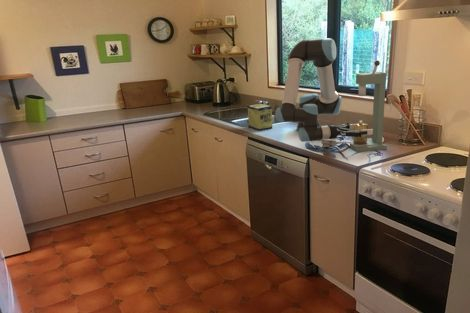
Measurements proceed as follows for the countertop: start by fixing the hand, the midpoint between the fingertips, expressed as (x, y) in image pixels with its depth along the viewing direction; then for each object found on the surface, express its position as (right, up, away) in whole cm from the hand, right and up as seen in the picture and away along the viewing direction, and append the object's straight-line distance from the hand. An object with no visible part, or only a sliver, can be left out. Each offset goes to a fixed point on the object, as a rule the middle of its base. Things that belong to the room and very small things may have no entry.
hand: (366, 128), depth 198 cm
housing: (-3, -8, +2) cm, 8 cm away
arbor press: (0, -10, +3) cm, 10 cm away
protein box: (-53, +5, +60) cm, 80 cm away
